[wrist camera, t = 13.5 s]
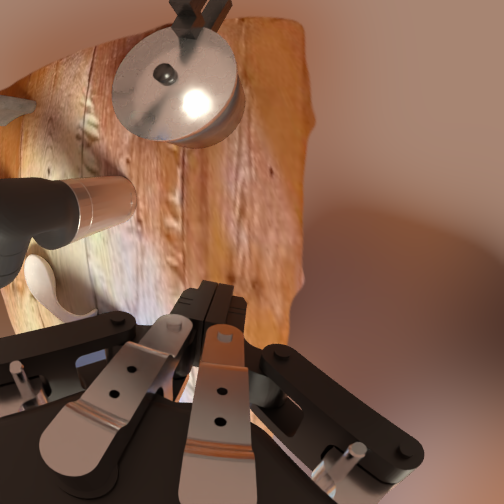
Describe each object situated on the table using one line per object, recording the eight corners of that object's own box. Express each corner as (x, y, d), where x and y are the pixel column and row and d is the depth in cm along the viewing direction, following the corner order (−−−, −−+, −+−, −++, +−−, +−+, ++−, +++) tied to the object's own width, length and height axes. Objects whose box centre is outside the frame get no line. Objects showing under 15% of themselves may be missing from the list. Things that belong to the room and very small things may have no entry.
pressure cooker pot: (224, 160, 44) (207, 155, 32) (143, 135, 44) (104, 125, 31) (275, 42, 38) (275, 4, 25) (193, 25, 37) (172, -11, 25)
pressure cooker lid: (209, 157, 31) (190, 151, 24) (101, 128, 31) (66, 121, 23) (278, -2, 24) (278, -36, 17) (171, -15, 24) (153, -43, 16)
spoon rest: (29, 278, 54) (12, 288, 47) (35, 241, 51) (16, 249, 44) (92, 332, 56) (77, 347, 49) (103, 296, 53) (85, 310, 46)
